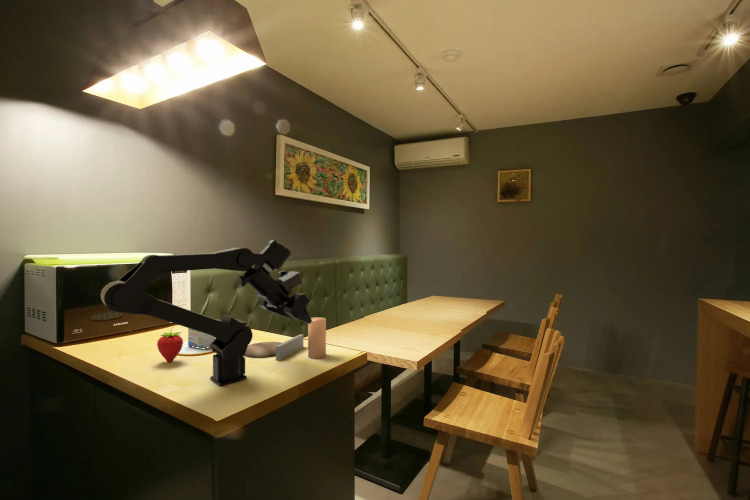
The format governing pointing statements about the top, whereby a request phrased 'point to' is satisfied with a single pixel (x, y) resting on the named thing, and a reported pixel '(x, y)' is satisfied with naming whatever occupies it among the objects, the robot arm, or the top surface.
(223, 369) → the robot arm
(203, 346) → the medicine box
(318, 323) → the salmon orange cylinder
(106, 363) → the top surface
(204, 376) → the top surface
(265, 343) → the walnut board
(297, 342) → the grey wall
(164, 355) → the strawberry
